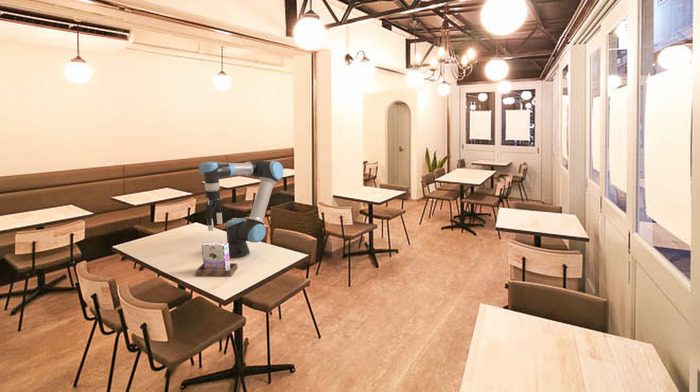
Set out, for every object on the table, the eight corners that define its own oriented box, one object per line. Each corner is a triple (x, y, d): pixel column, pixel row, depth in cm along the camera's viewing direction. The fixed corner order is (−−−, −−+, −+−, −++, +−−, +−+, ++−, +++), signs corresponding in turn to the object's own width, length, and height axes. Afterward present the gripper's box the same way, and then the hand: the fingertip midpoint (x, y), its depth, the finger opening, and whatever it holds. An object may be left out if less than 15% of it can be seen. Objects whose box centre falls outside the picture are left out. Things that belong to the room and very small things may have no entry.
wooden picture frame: (195, 276, 221) (195, 270, 221) (204, 268, 233) (203, 263, 232) (231, 276, 221) (230, 271, 220) (237, 268, 233) (237, 263, 232)
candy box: (230, 269, 229) (228, 242, 225) (225, 273, 223) (223, 245, 220) (209, 268, 231) (207, 241, 228) (203, 271, 226) (201, 244, 223)
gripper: (214, 186, 231) (216, 221, 235) (196, 194, 206) (200, 233, 210) (226, 186, 230) (229, 221, 235) (210, 194, 206) (213, 233, 210)
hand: (215, 227), depth 223 cm, fingers open, 13 cm apart
